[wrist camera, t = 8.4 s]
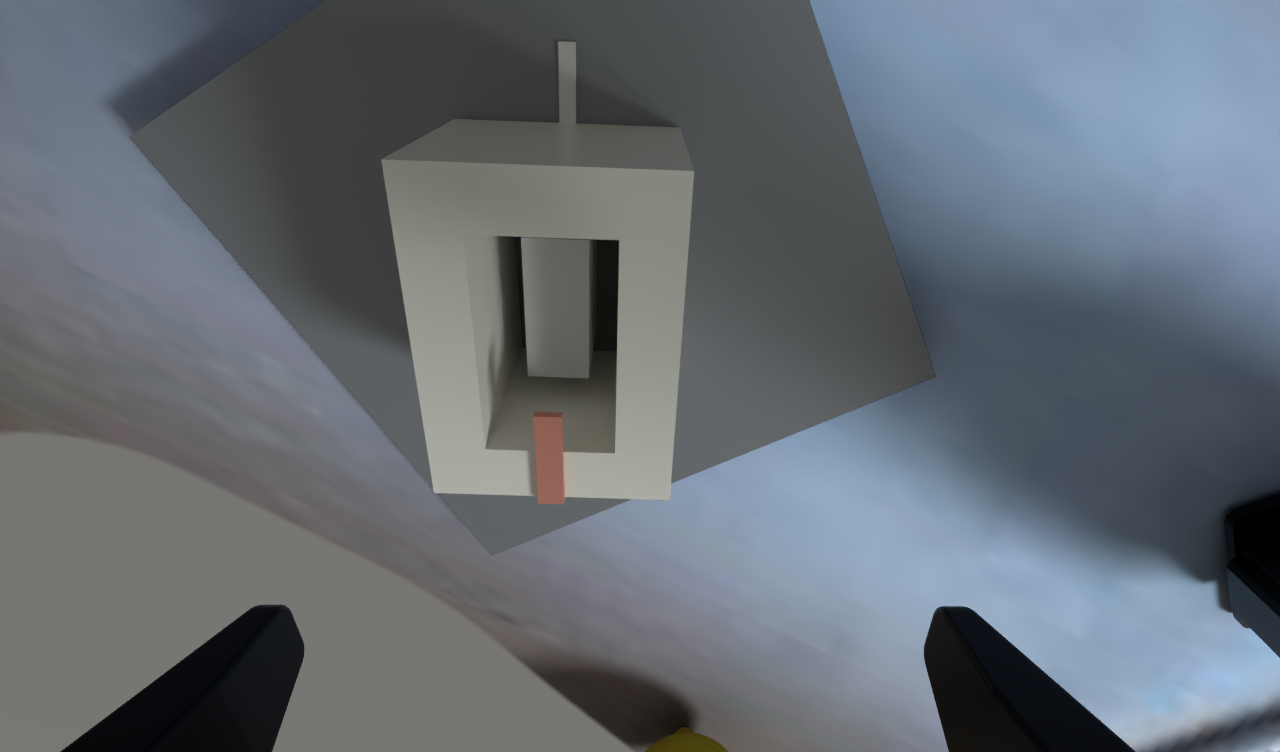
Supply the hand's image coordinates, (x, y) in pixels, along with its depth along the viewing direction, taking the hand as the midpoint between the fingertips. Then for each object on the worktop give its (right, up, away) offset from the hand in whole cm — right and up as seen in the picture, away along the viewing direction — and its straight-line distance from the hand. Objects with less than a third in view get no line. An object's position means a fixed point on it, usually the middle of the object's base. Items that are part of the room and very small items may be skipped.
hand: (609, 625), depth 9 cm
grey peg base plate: (-2, +7, +9) cm, 12 cm away
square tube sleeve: (-1, +6, +9) cm, 11 cm away
